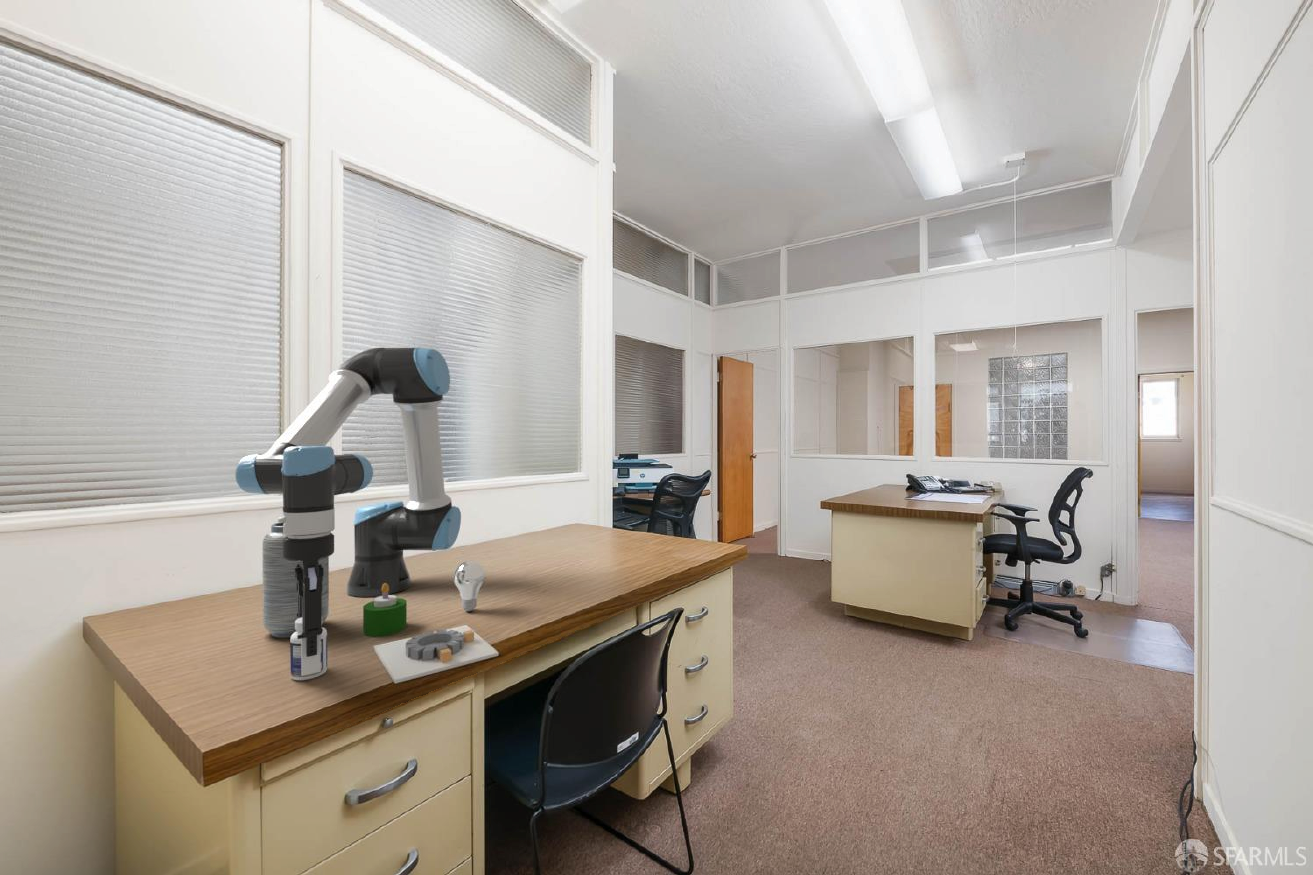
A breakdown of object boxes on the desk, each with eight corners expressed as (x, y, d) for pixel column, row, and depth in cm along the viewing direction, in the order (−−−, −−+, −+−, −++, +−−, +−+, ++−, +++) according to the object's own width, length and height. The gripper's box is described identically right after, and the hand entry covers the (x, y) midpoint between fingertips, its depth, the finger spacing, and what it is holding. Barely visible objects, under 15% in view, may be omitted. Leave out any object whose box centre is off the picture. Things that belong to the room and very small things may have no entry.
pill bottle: (302, 667, 94) (302, 613, 94) (333, 666, 94) (333, 612, 94) (283, 681, 88) (283, 624, 88) (316, 680, 89) (316, 623, 89)
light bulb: (474, 617, 119) (474, 565, 119) (447, 615, 121) (447, 563, 121) (490, 607, 126) (490, 558, 126) (464, 605, 128) (464, 556, 127)
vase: (337, 619, 118) (337, 517, 118) (313, 638, 107) (313, 527, 107) (281, 621, 116) (281, 519, 116) (250, 642, 105) (249, 528, 105)
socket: (373, 648, 102) (373, 636, 102) (466, 627, 113) (466, 616, 113) (395, 683, 88) (395, 669, 88) (498, 655, 99) (498, 642, 99)
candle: (415, 624, 115) (415, 579, 115) (387, 638, 107) (387, 590, 107) (383, 620, 117) (383, 576, 117) (353, 634, 109) (353, 587, 109)
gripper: (279, 528, 96) (279, 654, 96) (286, 546, 81) (286, 693, 82) (327, 524, 100) (327, 644, 101) (341, 540, 86) (341, 679, 86)
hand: (309, 666), depth 91 cm, fingers closed on pill bottle, 5 cm apart
